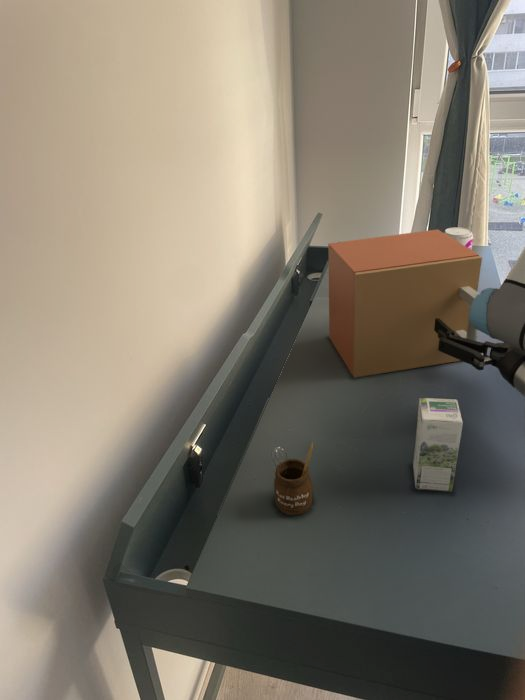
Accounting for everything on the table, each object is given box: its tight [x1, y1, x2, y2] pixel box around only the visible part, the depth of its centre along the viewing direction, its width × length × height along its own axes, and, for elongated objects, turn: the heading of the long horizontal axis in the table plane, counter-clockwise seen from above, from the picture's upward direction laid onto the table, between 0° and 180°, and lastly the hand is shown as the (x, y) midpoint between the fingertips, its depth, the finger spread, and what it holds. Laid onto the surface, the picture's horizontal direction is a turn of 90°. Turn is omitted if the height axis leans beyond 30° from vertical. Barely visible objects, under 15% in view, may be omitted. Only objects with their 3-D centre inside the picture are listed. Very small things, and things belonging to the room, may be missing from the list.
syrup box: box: [412, 397, 464, 493], centre depth 82 cm, size 6×6×14 cm
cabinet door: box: [352, 255, 483, 379], centre depth 107 cm, size 7×26×24 cm, turn 100°
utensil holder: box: [270, 441, 314, 516], centre depth 81 cm, size 6×6×12 cm
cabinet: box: [327, 229, 480, 376], centre depth 118 cm, size 18×26×24 cm
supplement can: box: [443, 226, 474, 251], centre depth 150 cm, size 8×8×15 cm
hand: (467, 319), depth 108 cm, fingers open, 13 cm apart
